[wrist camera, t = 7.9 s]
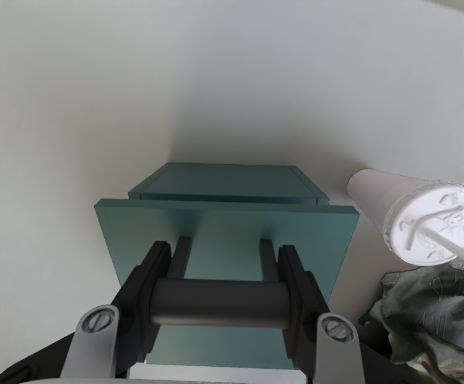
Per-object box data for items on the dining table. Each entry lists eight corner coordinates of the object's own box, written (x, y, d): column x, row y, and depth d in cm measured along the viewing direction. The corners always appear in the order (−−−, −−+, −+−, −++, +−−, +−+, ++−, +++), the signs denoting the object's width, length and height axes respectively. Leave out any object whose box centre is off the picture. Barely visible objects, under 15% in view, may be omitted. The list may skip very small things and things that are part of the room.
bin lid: (101, 198, 13) (19, 279, 8) (353, 205, 12) (423, 293, 8) (149, 354, 21) (123, 438, 16) (301, 359, 21) (319, 447, 16)
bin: (167, 162, 24) (127, 192, 16) (296, 165, 24) (330, 198, 15) (175, 281, 30) (150, 354, 21) (281, 285, 30) (300, 359, 21)
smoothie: (322, 186, 25) (417, 271, 12) (371, 143, 23) (547, 185, 10) (358, 222, 26) (480, 335, 13) (407, 184, 25) (602, 268, 11)
